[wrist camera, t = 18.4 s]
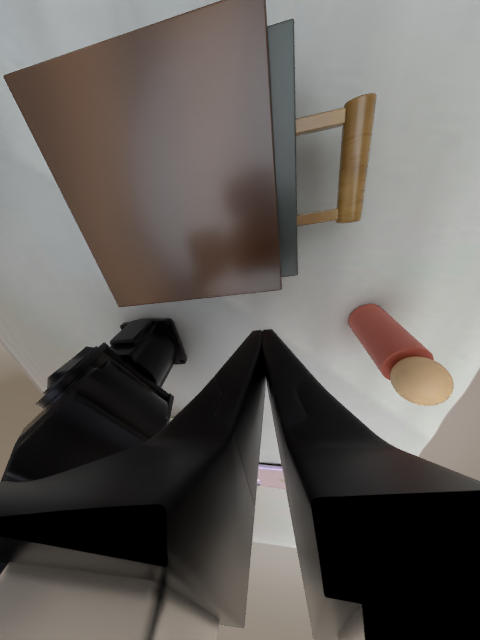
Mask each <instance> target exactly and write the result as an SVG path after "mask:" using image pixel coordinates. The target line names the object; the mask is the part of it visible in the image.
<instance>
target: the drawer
mask: <svg viewBox="0 0 480 640" xmlns="http://www.w3.org/2000/svg"><path fill="white" fill-rule="evenodd" d="M267 34H268V52H269V70H270V87H271V105H272V123H273V141H274V159H275V176H276V194H277V212H278V230H279V248H280V265H281V277H286V276H295V275H297V274H298V261H297V226H301V225H307V224H314V223H320V222H327V221H333V220H336V222H337V223H349V222H355V221H359V220H361V215H362V207H363V199H364V191H365V183H366V175H367V167H368V159H369V151H370V143H371V135H372V127H373V119H374V111H375V103H376V94H374V93H370V94H365V95H361V96H358V97H356V98H354V99H352V100H350V101H348V102H347V103H346V104H345V105H344V108H340V109H336V110H332V111H327V112H323V113H319V114H315V115H310V116H306V117H302V118H298V119H295V54H294V20H293V19H290V20H286V21H283V22H280V23H277V24H274V25H270V26H268V27H267ZM342 125H343V128H342V142H341V156H340V170H339V184H338V198H337V209H330V210H324V211H318V212H312V213H306V214H300V215H297V192H296V136H299V135H304V134H308V133H313V132H317V131H322V130H326V129H331V128H335V127H340V126H342Z"/></svg>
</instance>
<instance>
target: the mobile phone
mask: <svg viewBox="0 0 480 640" xmlns="http://www.w3.org/2000/svg"><path fill="white" fill-rule="evenodd" d="M257 486H263V487H273V488H282V489H286V486H285V480H284V475H283V469H282V466H274V465H263V464H259V466H258V477H257Z"/></svg>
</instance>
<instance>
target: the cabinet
mask: <svg viewBox="0 0 480 640" xmlns="http://www.w3.org/2000/svg"><path fill="white" fill-rule="evenodd" d="M4 79H5V81H6V83H7V85H8V87H9V89H10V91H11V93H12V95H13V97H14V99H15V101H16V103H17V105H18V107H19V109H20V111H21V113H22V115H23V117H24V119H25V121H26V123H27V125H28V127H29V129H30V131H31V133H32V135H33V137H34V139H35V141H36V143H37V145H38V147H39V149H40V151H41V153H42V155H43V157H44V159H45V161H46V163H47V165H48V167H49V169H50V171H51V173H52V175H53V177H54V179H55V181H56V183H57V185H58V186H59V188H60V190H61V192H62V194H63V196H64V198H65V200H66V202H67V204H68V206H69V208H70V210H71V212H72V214H73V216H74V218H75V220H76V222H77V224H78V226H79V228H80V230H81V232H82V234H83V236H84V238H85V240H86V242H87V244H88V246H89V248H90V250H91V252H92V254H93V256H94V258H95V260H96V262H97V264H98V266H99V268H100V270H101V272H102V274H103V276H104V278H105V280H106V282H107V284H108V286H109V288H110V290H111V292H112V294H113V296H114V298H115V300H116V302H117V304H118V306H119V307H125V306H135V305H144V304H153V303H163V302H172V301H182V300H191V299H200V298H210V297H219V296H228V295H238V294H247V293H256V292H266V291H275V290H281V289H282V283H281V265H280V248H279V230H278V212H277V194H276V176H275V159H274V141H273V123H272V105H271V87H270V70H269V52H268V34H267V16H266V0H221V1H218V2H215V3H213V4H210V5H207V6H204V7H201V8H198V9H195V10H192V11H189V12H186V13H184V14H181V15H178V16H175V17H172V18H169V19H166V20H163V21H160V22H157V23H155V24H152V25H149V26H146V27H143V28H140V29H137V30H134V31H131V32H128V33H125V34H123V35H120V36H117V37H114V38H111V39H108V40H105V41H102V42H99V43H96V44H94V45H91V46H88V47H85V48H82V49H79V50H76V51H73V52H70V53H67V54H65V55H62V56H59V57H56V58H53V59H50V60H47V61H44V62H41V63H38V64H36V65H33V66H30V67H27V68H24V69H21V70H18V71H15V72H12V73H9V74H6V75H4Z"/></svg>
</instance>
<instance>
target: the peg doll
mask: <svg viewBox="0 0 480 640" xmlns="http://www.w3.org/2000/svg"><path fill="white" fill-rule="evenodd" d="M348 322H349V326H350V328H351V329H352V331H353V332H354V334H355V335H356V336H357V338H358V339H359V341H360V342H361V344H362V345H363V347H364V348H365V350H366V351H367V352H368V354H369V355H370V357H371V358H372V360H373V361H374V363H375V364H376V366H377V367H378V368H379V370H380V371H381V373H382V374H383V376H384V377H385V378H387V379H389V380H391V383H392V385H393V387H394V389H395V390H396V392H397V393H398V394H399V395H400V396H402V397H403V398H404V399H406V400H408V401H410V402H412V403H415V404H418V405H425V406H431V405H437V404H440V403H442V402H444V401H445V400H447V399H448V398H449V397H450V395H451V394H452V391H453V380H452V377H451V375H450V374H449V372H448V371H447V370H446V369H445V368H444V367H443V366H442V365H441V364H439V363H438V362H436V361H434V360H433V355H432V354H431V353H430V352H429V351H428V350H427V349H426V348H425V347H424V346H423V345H422V344H421V343H420V342H418V341H417V340H416V339H415V338H414V337H413V336H412V335H411V334H410V333H409V332H407V331H406V330H405V329H404V328H403V327H402V326H401V325H400V324H399V323H398V322H396V321H395V320H394V319H393V318H392V317H391V316H390V315H389V314H388V313H387V312H386V311H384V310H383V309H382V308H381V307H380V306H378V305H375V304H366V305H362V306H360V307H358V308H356V309H355V310H354V311H353V312H352V313H351V315H350V317H349V321H348Z"/></svg>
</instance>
